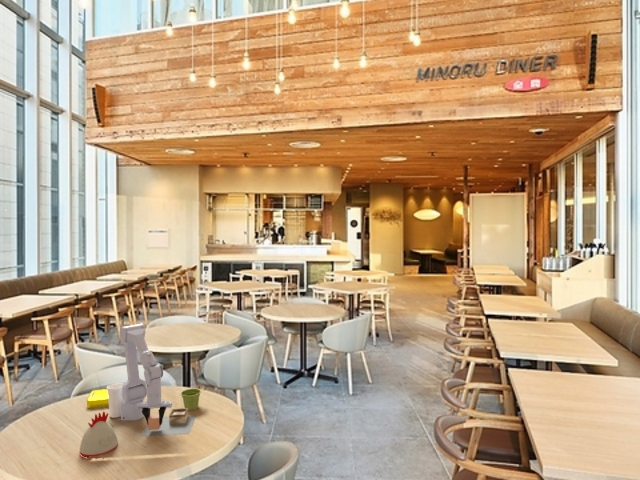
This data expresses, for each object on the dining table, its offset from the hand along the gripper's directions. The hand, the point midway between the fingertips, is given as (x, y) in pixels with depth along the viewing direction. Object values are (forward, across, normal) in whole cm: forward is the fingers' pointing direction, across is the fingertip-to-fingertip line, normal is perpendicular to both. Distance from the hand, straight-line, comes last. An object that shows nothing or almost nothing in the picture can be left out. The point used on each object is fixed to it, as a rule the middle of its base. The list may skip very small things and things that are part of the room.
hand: (154, 424), depth 201 cm
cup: (+4, -23, +21) cm, 31 cm away
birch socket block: (+3, +8, +10) cm, 13 cm away
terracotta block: (+1, 0, 0) cm, 1 cm away
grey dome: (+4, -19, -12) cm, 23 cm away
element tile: (+5, -35, +40) cm, 53 cm away
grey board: (+4, +5, +5) cm, 8 cm away
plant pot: (+4, +11, +24) cm, 27 cm away
